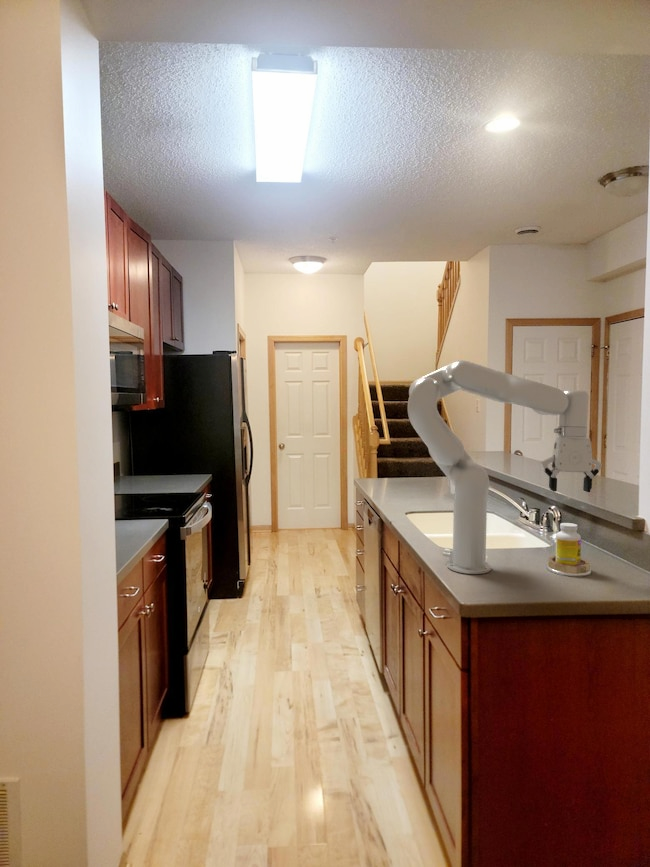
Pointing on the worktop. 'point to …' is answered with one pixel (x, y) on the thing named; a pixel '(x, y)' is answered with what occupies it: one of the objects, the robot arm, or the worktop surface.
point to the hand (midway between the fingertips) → (570, 491)
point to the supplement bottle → (568, 545)
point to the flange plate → (569, 568)
